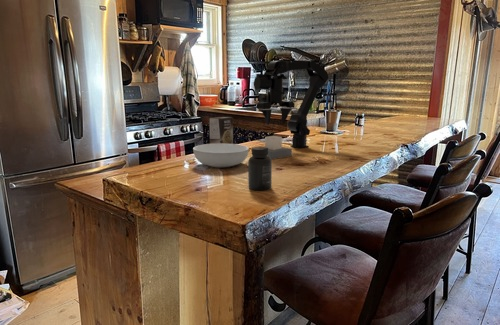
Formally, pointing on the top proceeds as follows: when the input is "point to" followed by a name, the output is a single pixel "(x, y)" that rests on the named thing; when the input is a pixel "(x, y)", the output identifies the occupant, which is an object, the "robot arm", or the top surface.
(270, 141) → the cream cube
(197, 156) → the serving bowl
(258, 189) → the supplement bottle
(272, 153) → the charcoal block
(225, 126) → the coffee box
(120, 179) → the top surface
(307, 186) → the top surface
